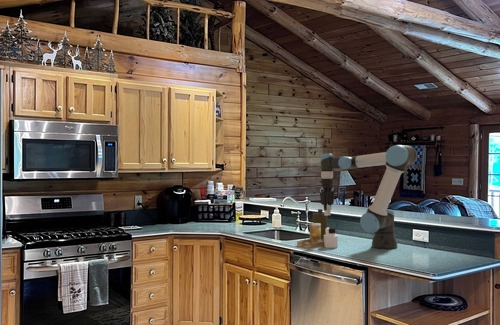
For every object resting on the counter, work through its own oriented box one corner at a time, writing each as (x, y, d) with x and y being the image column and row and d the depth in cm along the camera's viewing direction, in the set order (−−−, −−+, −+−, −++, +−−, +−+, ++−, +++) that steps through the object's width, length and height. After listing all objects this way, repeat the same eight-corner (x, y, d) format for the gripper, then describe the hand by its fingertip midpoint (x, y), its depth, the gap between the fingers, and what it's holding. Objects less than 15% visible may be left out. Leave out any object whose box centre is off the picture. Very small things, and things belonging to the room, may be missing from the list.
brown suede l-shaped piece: (334, 244, 307) (334, 224, 307) (310, 248, 294) (310, 227, 295) (316, 241, 320) (316, 222, 320) (293, 245, 307) (293, 225, 307)
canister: (327, 239, 327) (327, 210, 327) (312, 239, 329) (311, 209, 330) (328, 237, 338) (328, 208, 338) (313, 237, 340) (313, 208, 340)
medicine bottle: (335, 246, 302) (335, 226, 302) (337, 248, 294) (337, 228, 295) (323, 246, 301) (323, 226, 301) (325, 248, 294) (325, 228, 294)
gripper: (330, 177, 315) (330, 214, 315) (314, 178, 307) (315, 215, 307) (339, 178, 310) (339, 215, 309) (323, 178, 301) (323, 216, 301)
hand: (327, 215), depth 308 cm, fingers closed
